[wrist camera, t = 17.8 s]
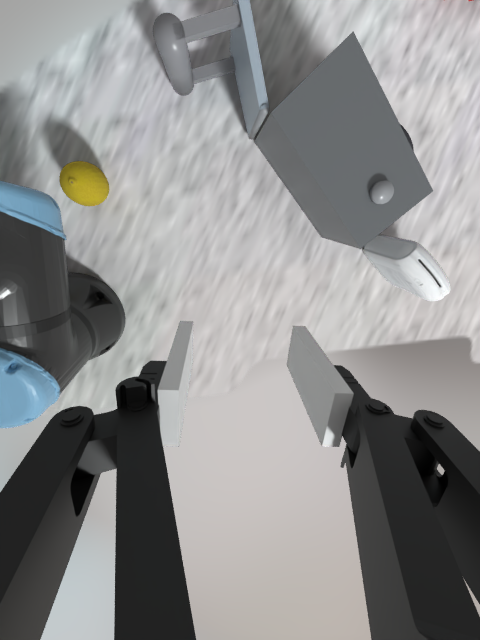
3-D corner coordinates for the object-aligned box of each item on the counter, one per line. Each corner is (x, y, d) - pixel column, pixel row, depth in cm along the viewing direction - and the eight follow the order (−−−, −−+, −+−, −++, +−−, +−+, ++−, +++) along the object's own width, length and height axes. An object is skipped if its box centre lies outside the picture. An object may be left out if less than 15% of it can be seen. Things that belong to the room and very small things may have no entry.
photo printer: (409, 270, 51) (465, 289, 39) (390, 287, 52) (439, 310, 40) (377, 230, 47) (427, 237, 36) (357, 249, 48) (400, 262, 37)
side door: (255, 138, 40) (270, 112, 29) (192, 156, 41) (183, 138, 29) (236, 46, 36) (245, -24, 25) (167, 67, 37) (144, 7, 25)
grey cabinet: (321, 237, 47) (363, 249, 34) (253, 140, 41) (271, 108, 28) (382, 186, 45) (454, 177, 31) (319, 76, 39) (374, 6, 25)
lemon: (78, 201, 43) (48, 200, 35) (78, 161, 41) (46, 151, 33) (115, 209, 43) (94, 210, 36) (117, 170, 41) (95, 162, 34)
